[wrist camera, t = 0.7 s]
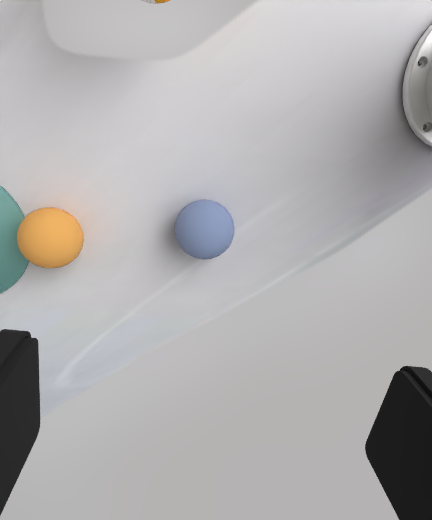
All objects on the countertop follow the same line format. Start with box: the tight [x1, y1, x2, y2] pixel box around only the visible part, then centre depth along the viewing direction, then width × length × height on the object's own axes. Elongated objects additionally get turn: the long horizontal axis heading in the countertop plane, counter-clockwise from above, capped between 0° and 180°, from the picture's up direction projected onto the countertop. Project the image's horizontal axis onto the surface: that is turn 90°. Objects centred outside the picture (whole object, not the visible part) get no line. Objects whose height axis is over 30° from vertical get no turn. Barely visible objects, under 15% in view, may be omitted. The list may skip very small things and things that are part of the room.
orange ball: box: [17, 208, 83, 268], centre depth 33 cm, size 6×6×6 cm
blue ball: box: [175, 200, 234, 259], centre depth 34 cm, size 6×6×6 cm
